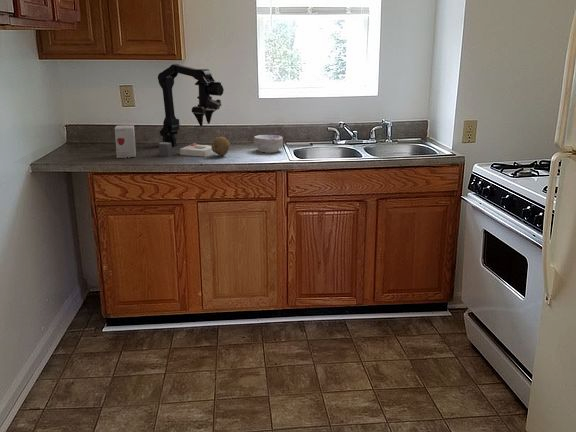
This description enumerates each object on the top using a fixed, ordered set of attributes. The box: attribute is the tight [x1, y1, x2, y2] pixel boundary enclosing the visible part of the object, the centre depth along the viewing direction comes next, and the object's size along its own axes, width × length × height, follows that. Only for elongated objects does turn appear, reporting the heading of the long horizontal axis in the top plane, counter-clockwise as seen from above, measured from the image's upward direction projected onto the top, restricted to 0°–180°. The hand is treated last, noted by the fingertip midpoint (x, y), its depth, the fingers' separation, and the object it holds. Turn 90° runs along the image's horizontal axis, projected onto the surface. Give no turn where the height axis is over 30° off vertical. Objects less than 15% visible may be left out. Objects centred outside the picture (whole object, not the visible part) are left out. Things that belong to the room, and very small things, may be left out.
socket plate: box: [179, 142, 216, 157], centre depth 287 cm, size 14×14×4 cm
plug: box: [158, 141, 173, 157], centre depth 280 cm, size 5×4×6 cm
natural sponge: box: [211, 136, 231, 157], centre depth 279 cm, size 9×9×10 cm
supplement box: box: [114, 124, 137, 159], centre depth 276 cm, size 9×9×15 cm
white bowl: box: [253, 134, 284, 154], centre depth 293 cm, size 15×15×8 cm
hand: (205, 124), depth 289 cm, fingers open, 9 cm apart
